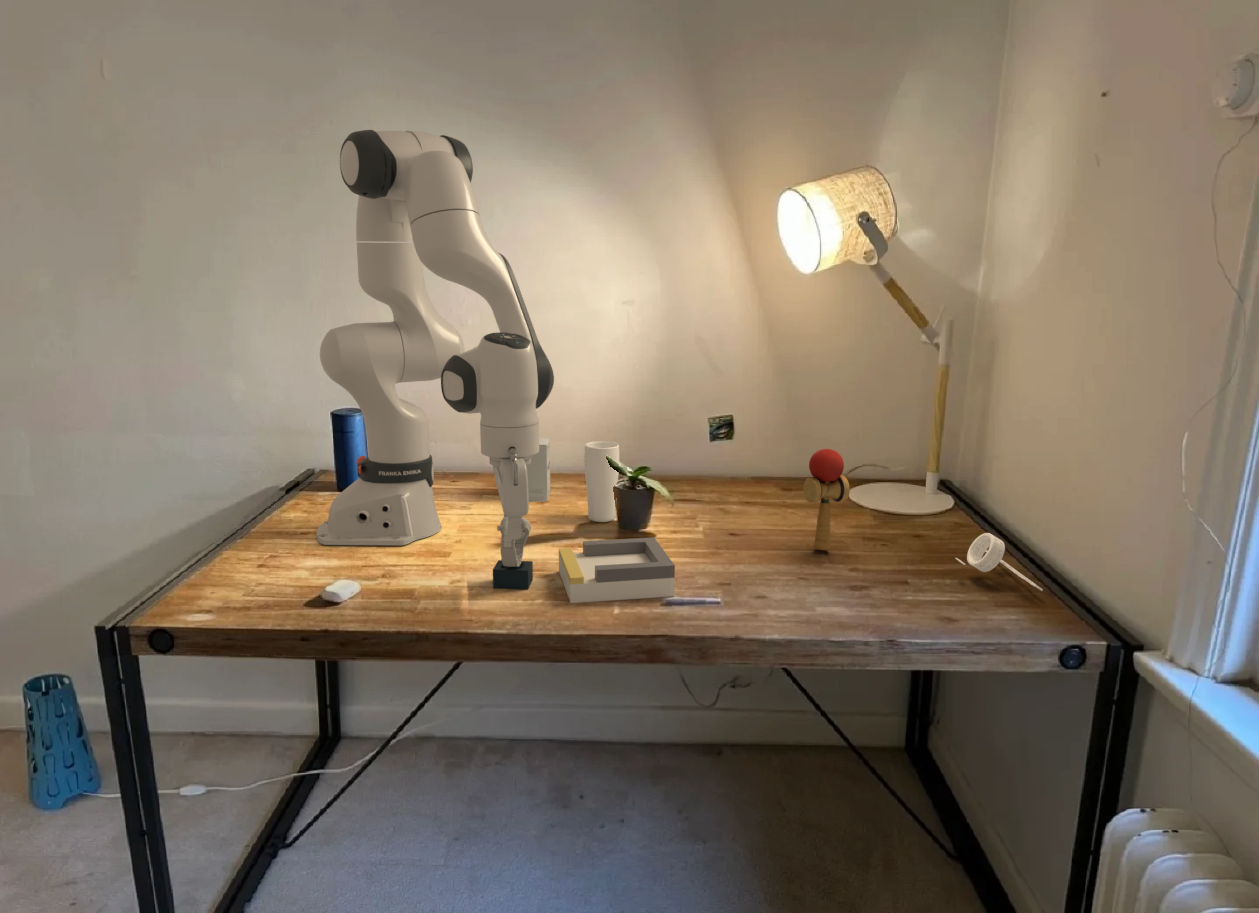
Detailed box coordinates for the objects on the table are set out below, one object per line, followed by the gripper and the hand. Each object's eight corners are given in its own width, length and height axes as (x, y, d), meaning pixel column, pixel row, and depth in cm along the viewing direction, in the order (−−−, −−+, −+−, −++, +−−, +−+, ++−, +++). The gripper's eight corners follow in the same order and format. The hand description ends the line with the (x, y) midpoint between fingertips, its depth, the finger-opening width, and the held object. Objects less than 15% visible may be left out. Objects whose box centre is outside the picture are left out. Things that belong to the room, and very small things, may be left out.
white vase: (618, 524, 177) (618, 448, 173) (583, 524, 177) (583, 448, 173) (619, 514, 183) (620, 441, 180) (585, 514, 183) (585, 440, 180)
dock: (570, 603, 137) (570, 571, 136) (558, 571, 151) (558, 542, 150) (674, 596, 141) (674, 565, 139) (653, 565, 154) (654, 537, 153)
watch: (534, 575, 149) (534, 510, 146) (526, 593, 141) (525, 525, 139) (500, 574, 149) (499, 509, 147) (490, 592, 142) (488, 524, 139)
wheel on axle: (937, 543, 160) (959, 512, 159) (982, 571, 161) (1004, 541, 160) (981, 579, 142) (1006, 544, 141) (1031, 610, 144) (1056, 576, 143)
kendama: (839, 541, 168) (845, 445, 164) (848, 552, 161) (855, 453, 157) (797, 541, 167) (802, 445, 163) (805, 553, 161) (810, 453, 157)
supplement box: (548, 504, 190) (547, 444, 187) (512, 503, 190) (511, 444, 187) (551, 494, 197) (550, 437, 194) (516, 494, 197) (515, 437, 195)
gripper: (537, 454, 130) (539, 548, 133) (524, 428, 149) (526, 510, 152) (492, 456, 129) (495, 550, 132) (485, 429, 148) (488, 512, 151)
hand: (512, 528), depth 142 cm, fingers open, 8 cm apart
